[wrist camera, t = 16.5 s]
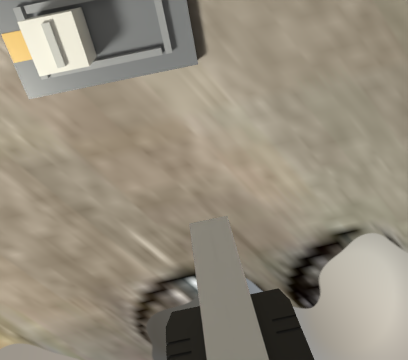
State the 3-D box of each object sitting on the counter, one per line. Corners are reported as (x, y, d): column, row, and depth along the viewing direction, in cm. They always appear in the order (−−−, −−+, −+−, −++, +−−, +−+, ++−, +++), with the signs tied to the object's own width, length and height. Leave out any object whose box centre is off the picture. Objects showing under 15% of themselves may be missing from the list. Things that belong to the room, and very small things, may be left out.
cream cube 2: (33, 16, 29) (15, 22, 26) (81, 7, 29) (69, 11, 26) (52, 65, 31) (38, 77, 28) (96, 56, 31) (88, 67, 28)
